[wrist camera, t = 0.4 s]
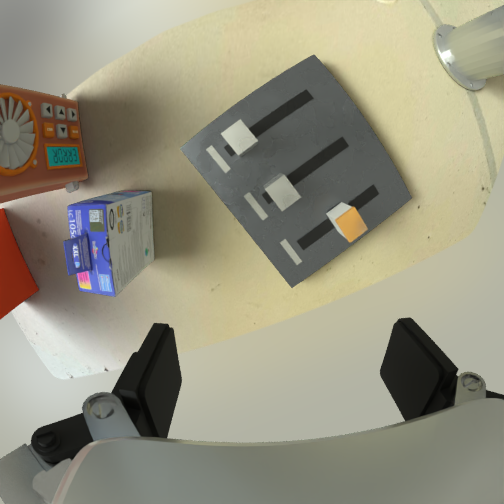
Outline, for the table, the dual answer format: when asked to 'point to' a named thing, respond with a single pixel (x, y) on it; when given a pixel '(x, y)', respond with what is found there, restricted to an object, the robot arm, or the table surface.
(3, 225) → the file binder
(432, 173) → the table surface
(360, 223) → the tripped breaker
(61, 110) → the control panel
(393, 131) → the table surface
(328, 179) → the breaker board
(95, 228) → the ink cartridge box
